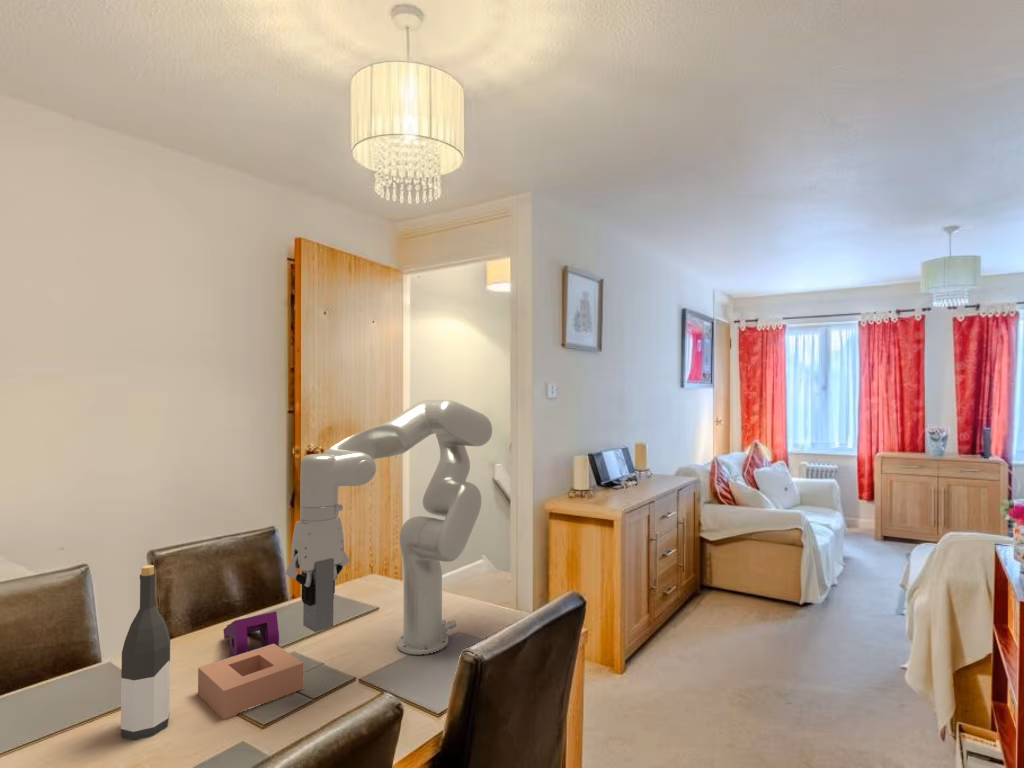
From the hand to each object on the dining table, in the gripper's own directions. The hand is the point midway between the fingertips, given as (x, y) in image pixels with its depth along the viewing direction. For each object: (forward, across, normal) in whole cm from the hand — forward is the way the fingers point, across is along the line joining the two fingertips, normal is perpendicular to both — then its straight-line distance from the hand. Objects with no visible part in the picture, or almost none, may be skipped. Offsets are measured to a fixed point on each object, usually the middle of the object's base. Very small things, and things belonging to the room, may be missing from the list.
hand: (318, 600), depth 120 cm
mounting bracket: (+20, 0, -34) cm, 40 cm away
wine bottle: (+20, +28, -13) cm, 36 cm away
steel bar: (+5, 0, 0) cm, 5 cm away
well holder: (+19, +9, -11) cm, 24 cm away
